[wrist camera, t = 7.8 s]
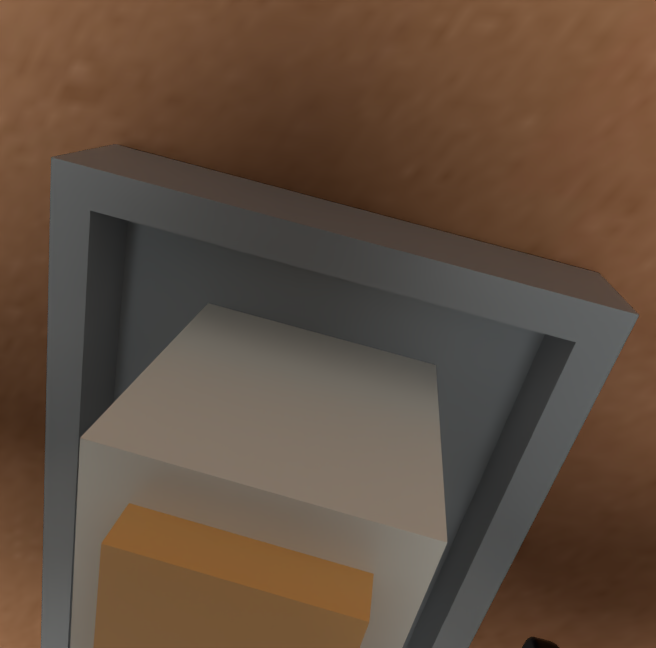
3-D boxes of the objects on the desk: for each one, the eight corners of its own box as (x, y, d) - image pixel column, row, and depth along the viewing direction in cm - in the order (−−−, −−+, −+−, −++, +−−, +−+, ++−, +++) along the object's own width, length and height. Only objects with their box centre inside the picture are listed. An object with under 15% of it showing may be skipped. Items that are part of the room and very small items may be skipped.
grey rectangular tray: (598, 273, 9) (639, 314, 7) (403, 695, 14) (401, 779, 12) (115, 144, 9) (51, 156, 8) (84, 599, 14) (40, 668, 12)
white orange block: (435, 365, 9) (451, 591, 5) (339, 637, 12) (300, 922, 8) (208, 302, 10) (45, 474, 5) (166, 585, 12) (40, 839, 8)
